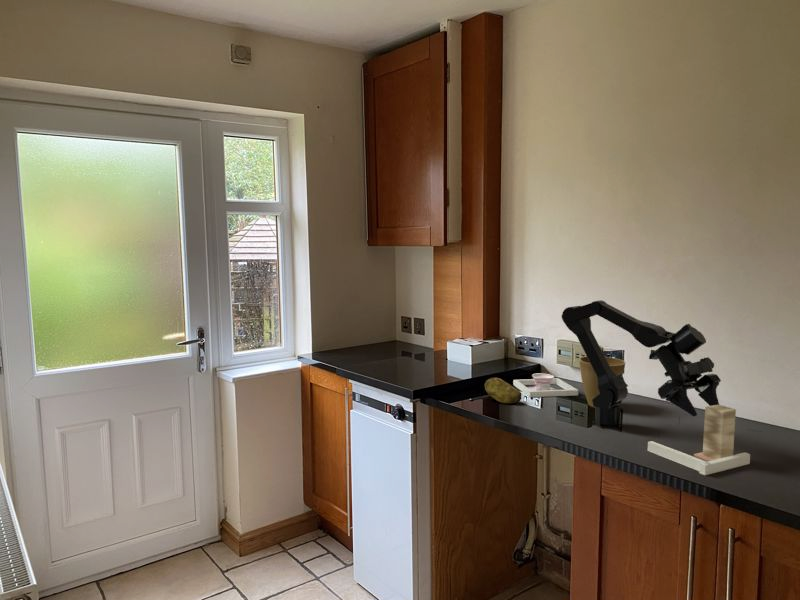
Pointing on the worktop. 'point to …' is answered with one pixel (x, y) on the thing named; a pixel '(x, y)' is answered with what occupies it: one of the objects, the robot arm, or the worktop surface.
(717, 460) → the corner arena
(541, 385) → the teacup
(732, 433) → the birch block
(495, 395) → the potato
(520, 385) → the saucer tray
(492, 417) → the worktop surface
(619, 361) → the plant pot
